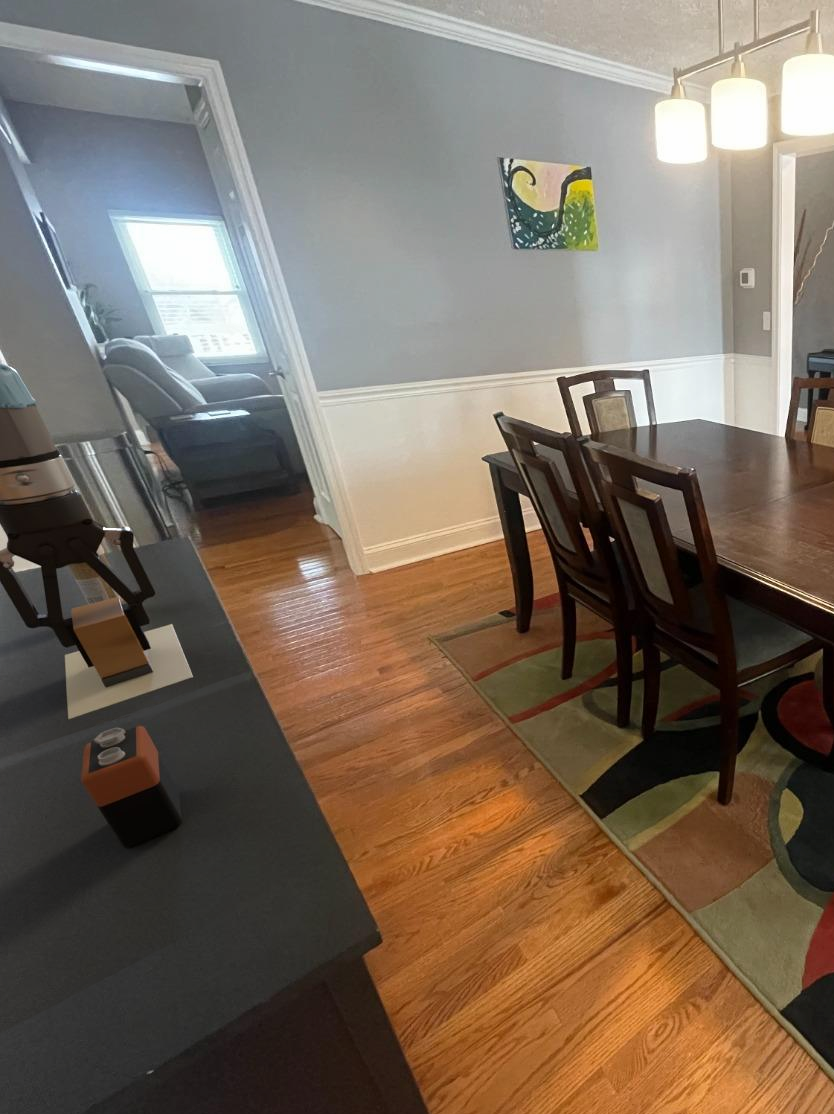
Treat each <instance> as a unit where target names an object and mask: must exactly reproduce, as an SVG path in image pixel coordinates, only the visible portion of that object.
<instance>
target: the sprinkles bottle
mask: <svg viewBox="0 0 834 1114" xmlns="http://www.w3.org/2000/svg"><path fill="white" fill-rule="evenodd" d="M97 553H98V554H99V555H100V556H101V558H102V559H103V560H104V561H105V562H106V563H107V564H108V565H109V566H110V567H111V565H110V563H109V561H108V559H107V558H106V554H105V549H104V547H103V545H102V543H101V544H100V546H99V548H98V550H97ZM67 566H68V568H69V569H70V571H71V573H72V576H73V577H74V580H75V582H76V584H77V585H78V588H79V589H80V591H81V593H82V595H83V597H84V599H85V601H86V602H87V605H88V604H92V603H96V602H99V601H103V600H107V599H111V598H115V597H120V596H119V595H118V594H117V593H116V592H115V591H114V590H113V589H112V588H111V587H110V586H109V585H108V584H107V583H106V582H105V581H104V580H103V579H102V578H101V577H100V576H99V575H98V574H97V573H96V572H95V571H94V570H93V569H92V568H91V567H90V566H89V565H88V564H87V563H86V562H85V563H80V564H69V565H67ZM120 599H121V601H122V603H123V604H125V603H126V602H125V601H124V600H123V599H122V598H121V597H120Z"/></svg>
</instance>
